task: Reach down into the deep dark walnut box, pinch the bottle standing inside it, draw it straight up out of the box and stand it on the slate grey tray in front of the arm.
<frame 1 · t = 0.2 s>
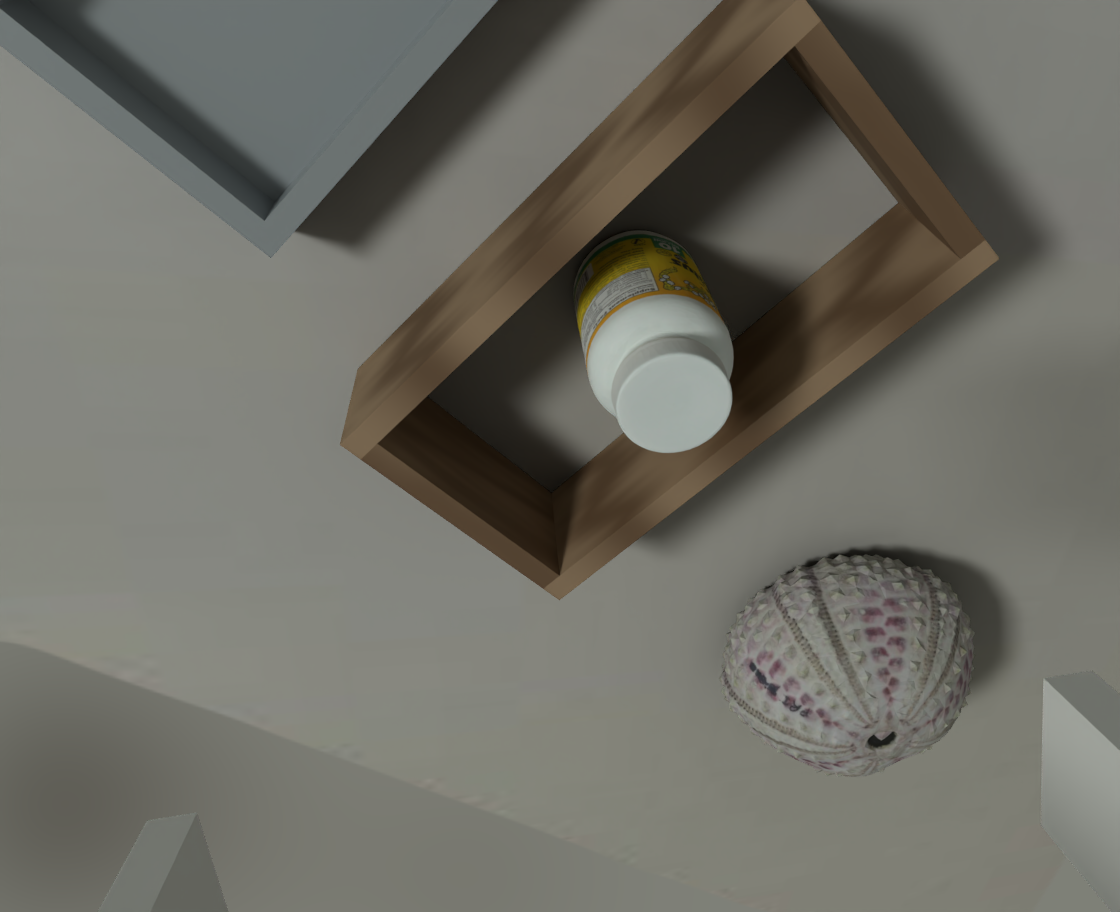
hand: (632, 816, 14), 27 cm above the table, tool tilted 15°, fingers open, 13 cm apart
supplement bottle: (635, 286, 39), resting in walnut box
sea urchin shell: (829, 623, 52), on the table
walnut box: (635, 288, 39), on the table
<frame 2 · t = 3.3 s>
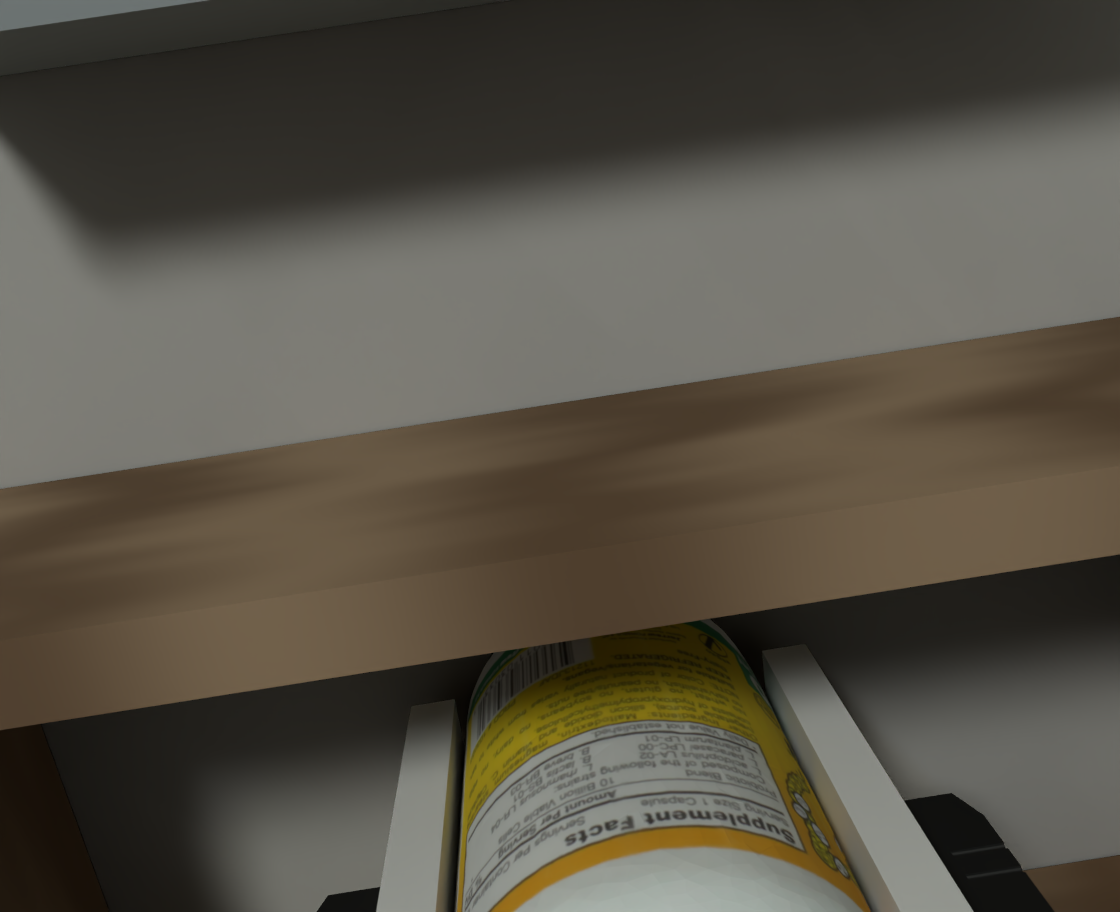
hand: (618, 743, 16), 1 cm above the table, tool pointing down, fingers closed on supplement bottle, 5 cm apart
supplement bottle: (612, 710, 17), resting in walnut box, touching gripper
walnut box: (613, 716, 17), on the table
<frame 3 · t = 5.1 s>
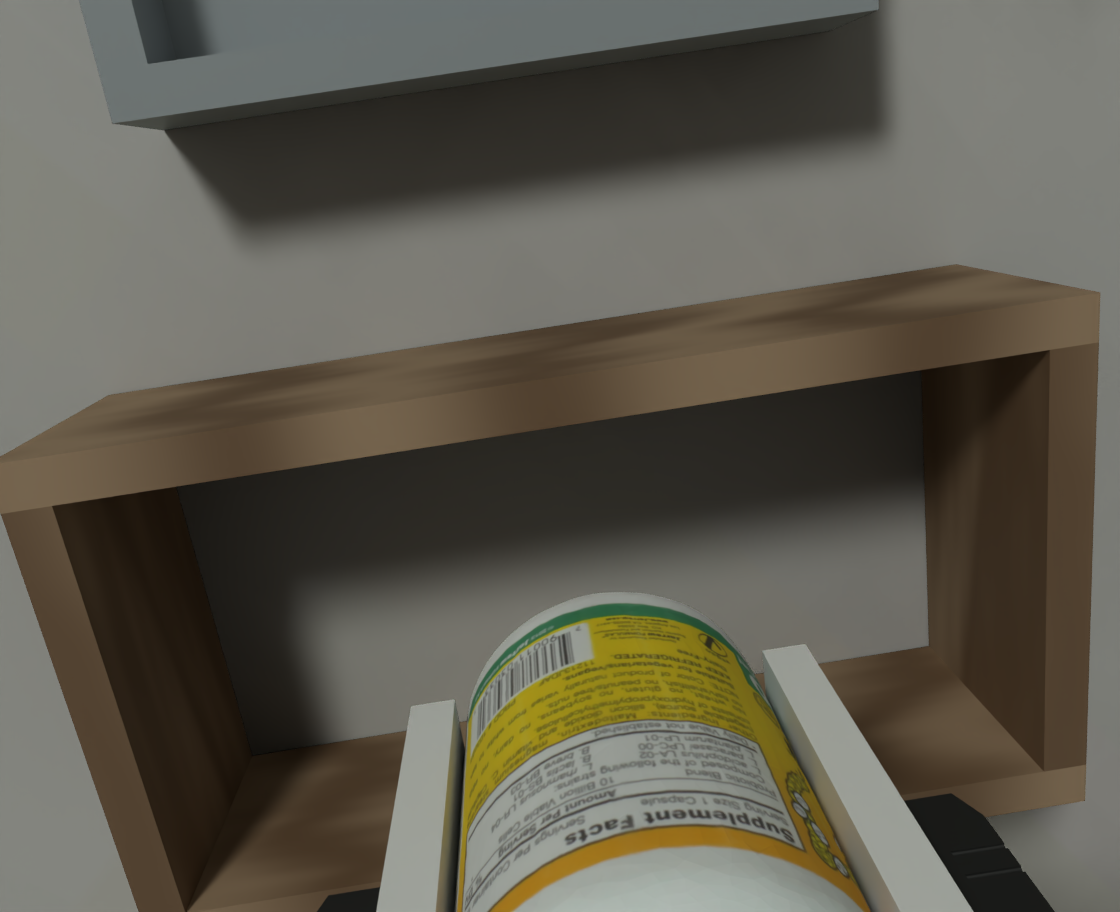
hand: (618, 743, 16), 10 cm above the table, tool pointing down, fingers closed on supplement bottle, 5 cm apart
supplement bottle: (612, 710, 17), point 9 cm above the table, touching gripper
walnut box: (569, 543, 26), on the table
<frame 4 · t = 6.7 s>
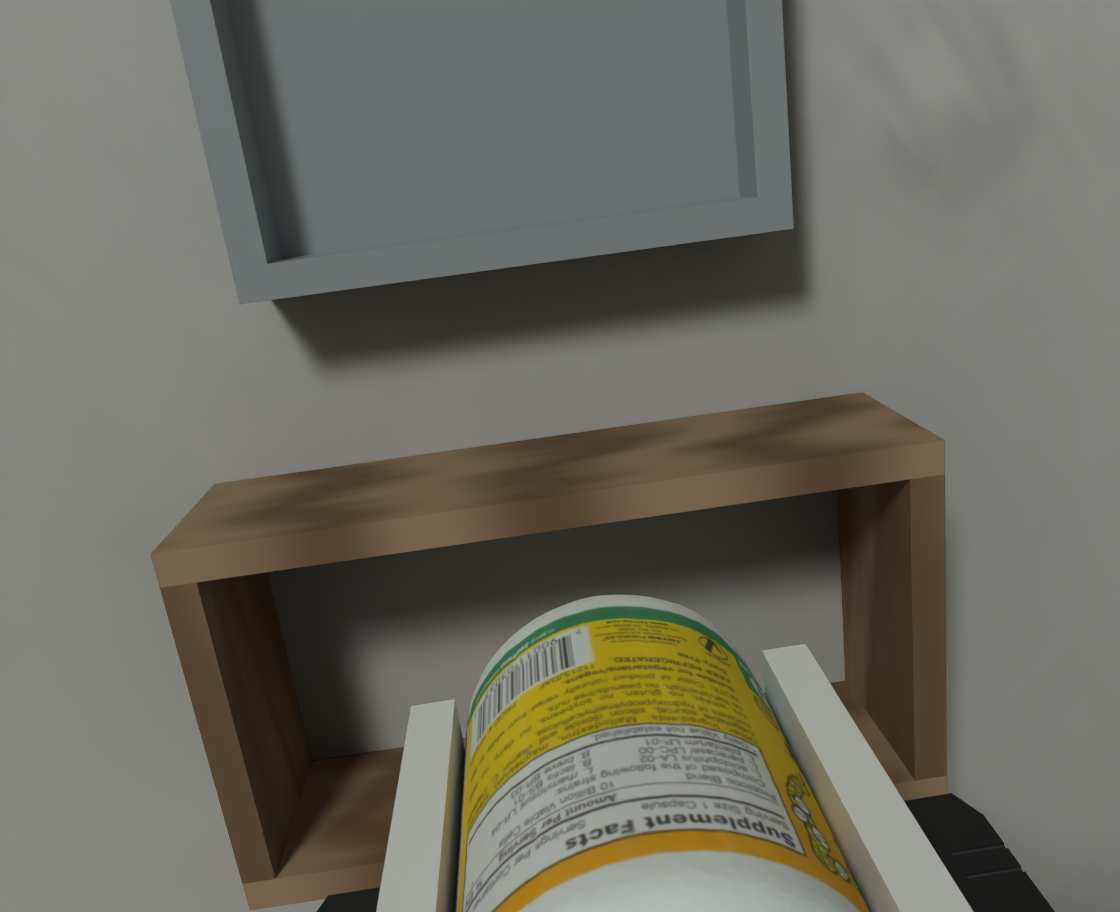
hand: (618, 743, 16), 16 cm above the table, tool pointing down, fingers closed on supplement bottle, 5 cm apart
supplement bottle: (612, 712, 17), point 15 cm above the table, touching gripper
walnut box: (564, 599, 33), on the table
slate tray: (488, 54, 28), on the table
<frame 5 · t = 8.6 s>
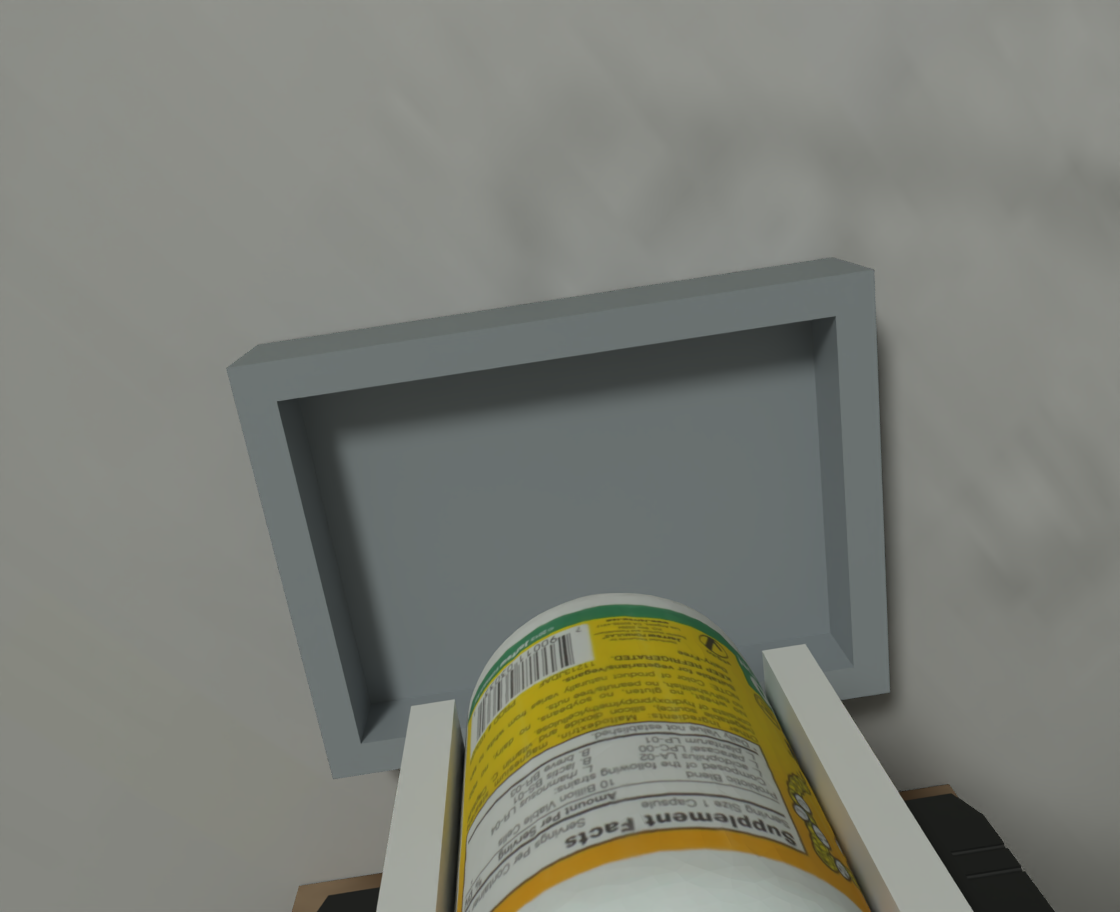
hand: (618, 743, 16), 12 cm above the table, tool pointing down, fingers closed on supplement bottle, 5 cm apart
supplement bottle: (612, 711, 17), point 11 cm above the table, touching gripper
slate tray: (575, 503, 27), on the table
when the fingers open (4 cm above the table, at t = 10.2 s): supplement bottle drops 2 cm, resting on slate tray.
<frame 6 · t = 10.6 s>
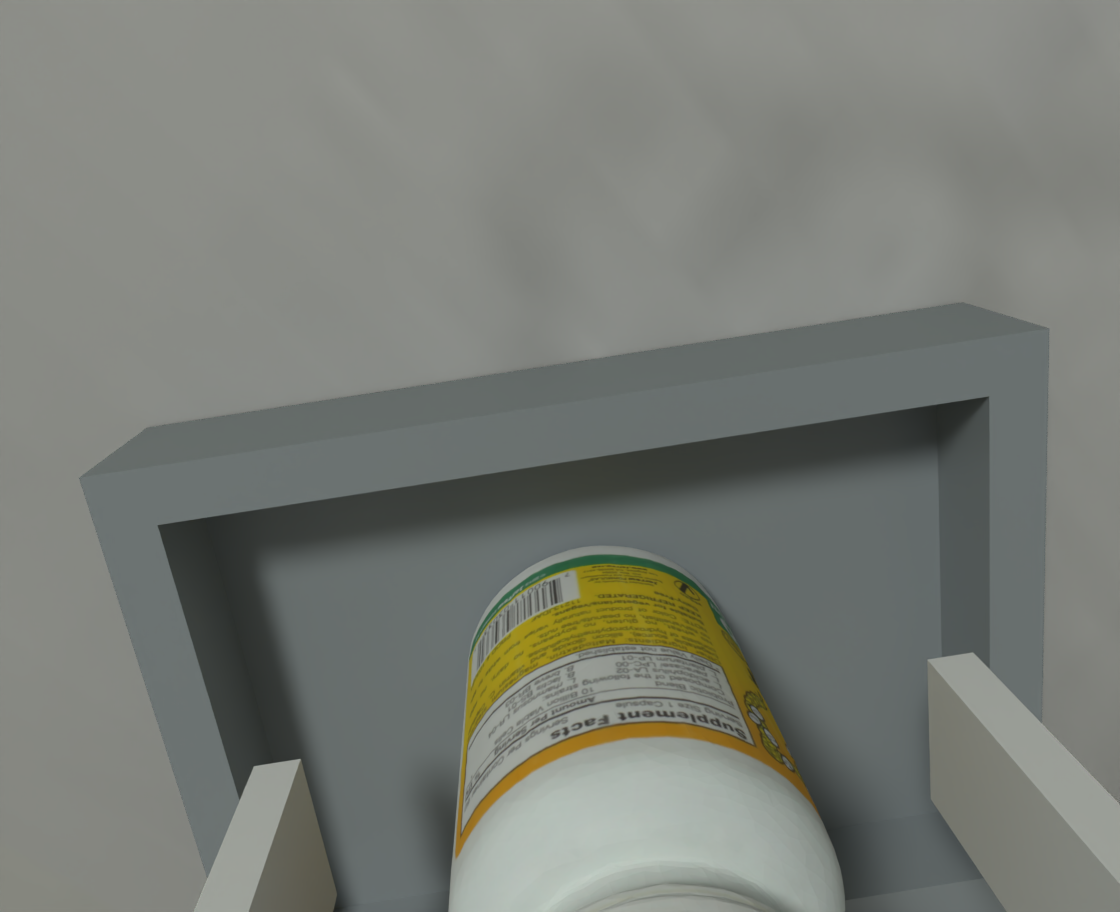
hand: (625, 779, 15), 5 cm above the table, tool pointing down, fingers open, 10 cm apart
supplement bottle: (599, 655, 19), point 1 cm above the table, touching slate tray
slate tray: (597, 638, 20), on the table
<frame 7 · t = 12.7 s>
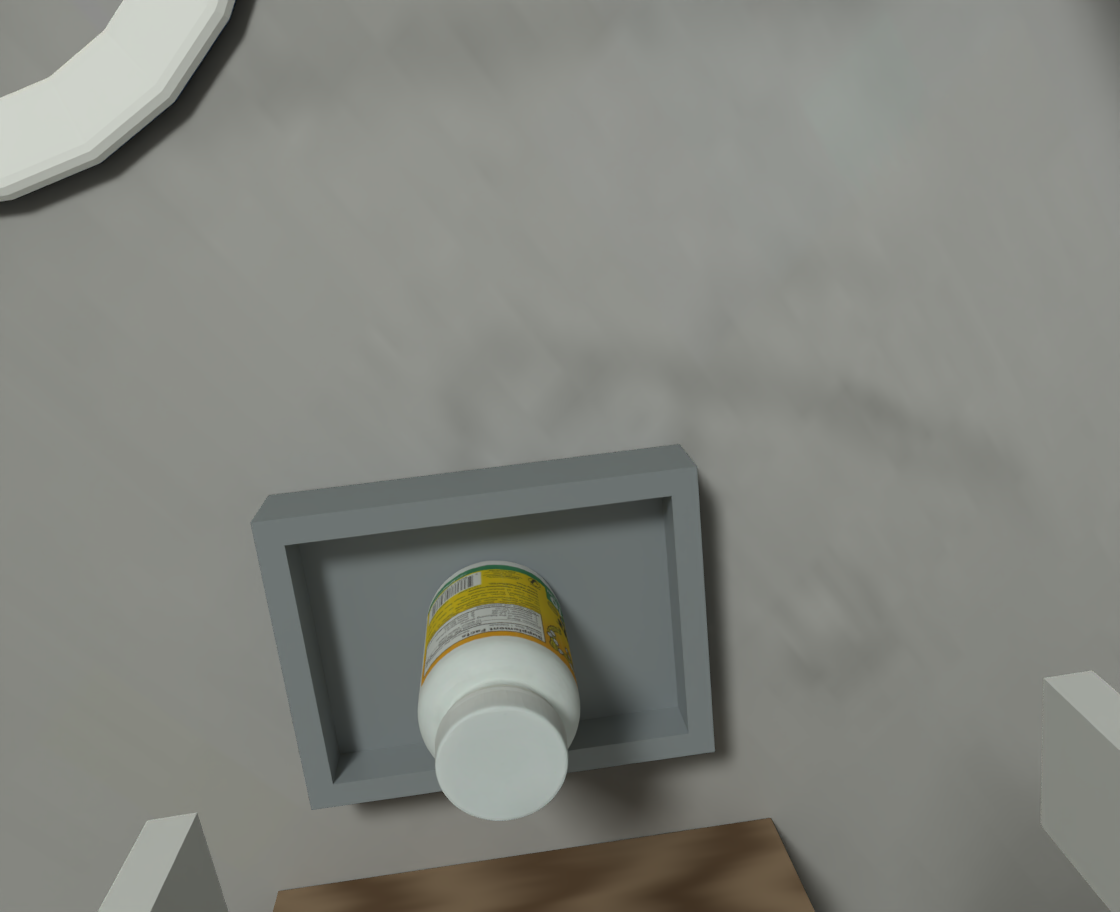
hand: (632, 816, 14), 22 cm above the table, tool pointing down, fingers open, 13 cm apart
supplement bottle: (494, 617, 37), point 1 cm above the table, touching slate tray
slate tray: (495, 609, 38), on the table
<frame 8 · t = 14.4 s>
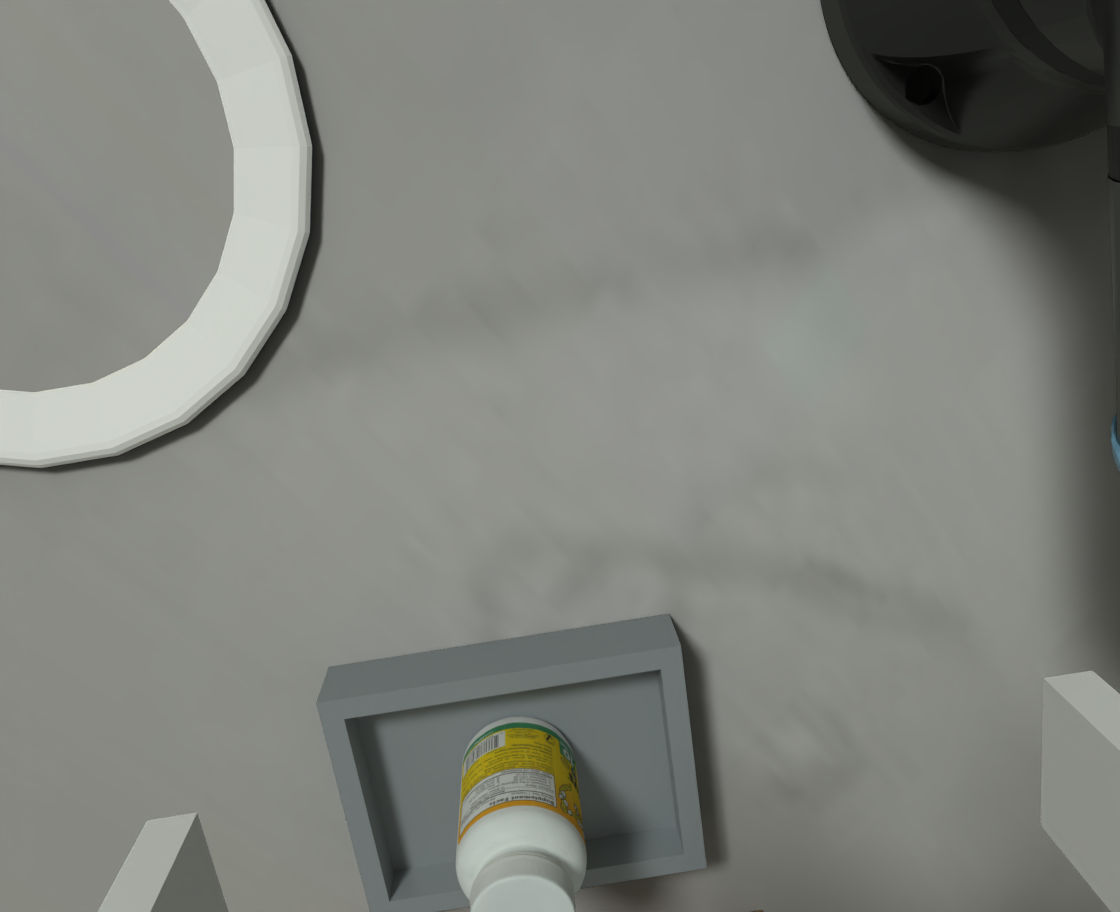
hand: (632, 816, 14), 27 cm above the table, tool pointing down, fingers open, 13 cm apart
supplement bottle: (518, 759, 44), point 1 cm above the table, touching slate tray
slate tray: (519, 749, 45), on the table
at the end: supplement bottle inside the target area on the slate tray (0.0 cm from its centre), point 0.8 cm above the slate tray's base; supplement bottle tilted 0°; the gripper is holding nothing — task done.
